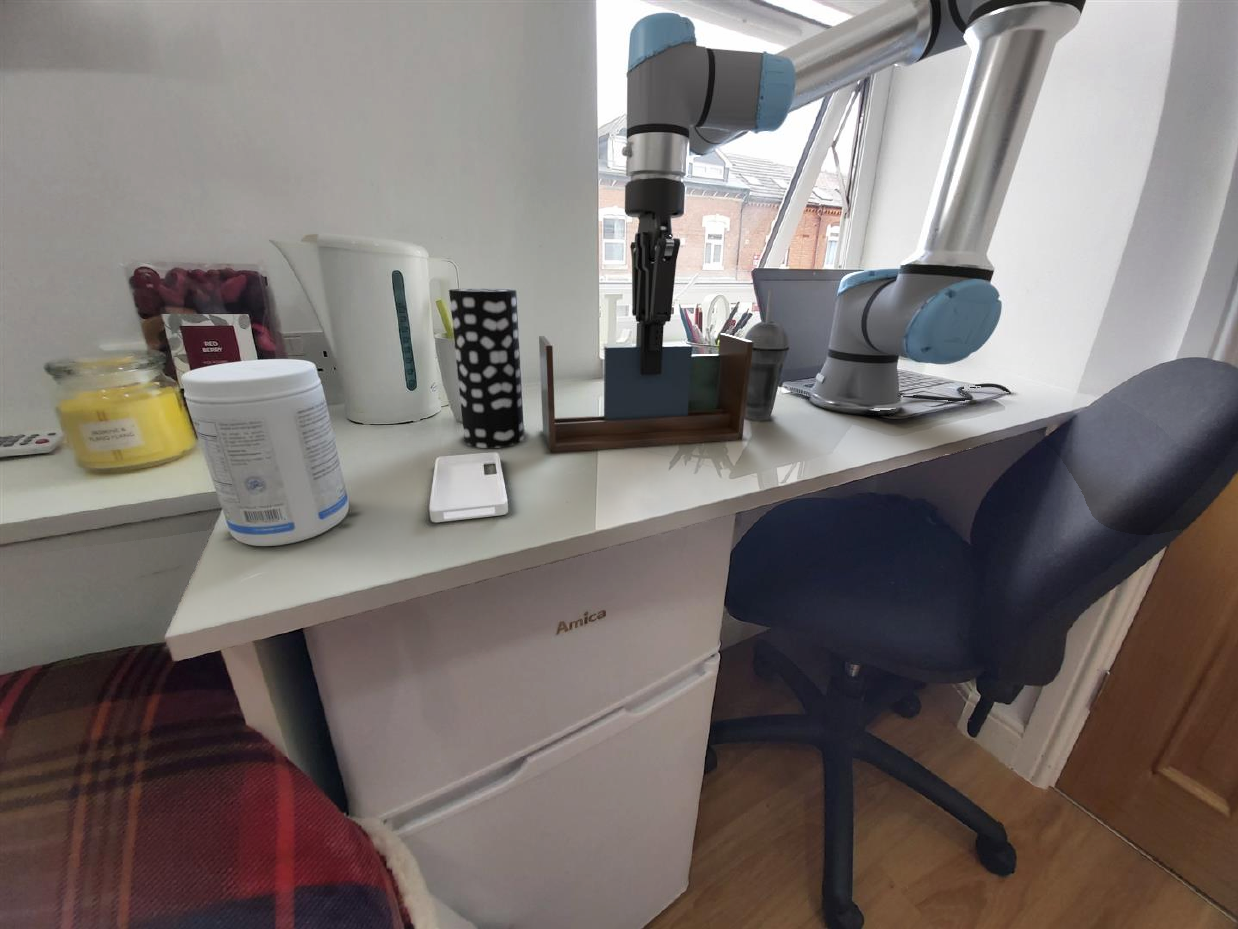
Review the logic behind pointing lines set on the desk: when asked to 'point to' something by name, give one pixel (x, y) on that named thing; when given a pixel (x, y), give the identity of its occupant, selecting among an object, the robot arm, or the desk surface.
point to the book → (646, 382)
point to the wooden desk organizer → (709, 417)
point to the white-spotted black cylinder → (488, 366)
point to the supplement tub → (268, 448)
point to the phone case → (467, 488)
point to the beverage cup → (765, 366)
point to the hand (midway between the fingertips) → (648, 371)
